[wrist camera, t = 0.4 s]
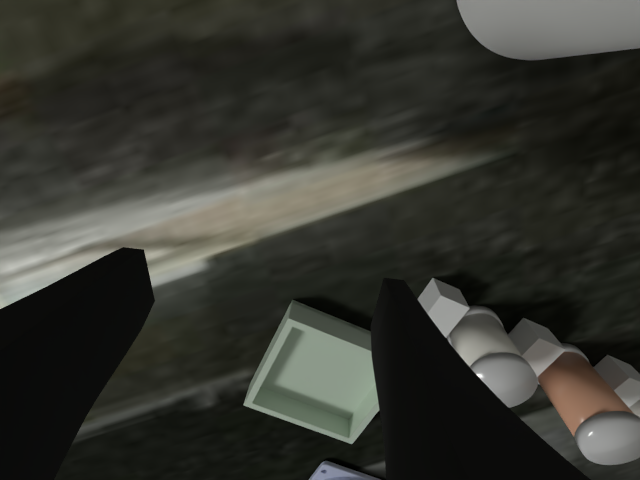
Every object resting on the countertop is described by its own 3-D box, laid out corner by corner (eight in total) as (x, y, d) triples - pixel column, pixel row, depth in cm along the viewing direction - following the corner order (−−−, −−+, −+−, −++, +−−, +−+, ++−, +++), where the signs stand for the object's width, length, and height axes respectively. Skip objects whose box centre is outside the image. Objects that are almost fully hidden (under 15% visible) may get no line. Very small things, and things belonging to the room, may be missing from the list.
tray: (351, 420, 28) (352, 444, 26) (250, 383, 27) (243, 405, 25) (407, 346, 24) (412, 367, 22) (292, 299, 23) (288, 318, 21)
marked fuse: (558, 387, 25) (618, 472, 19) (517, 370, 24) (567, 452, 19) (594, 354, 23) (670, 436, 18) (552, 336, 23) (616, 414, 18)
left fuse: (478, 353, 24) (509, 416, 20) (434, 335, 24) (456, 395, 19) (510, 317, 23) (552, 376, 18) (464, 297, 22) (496, 352, 18)
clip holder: (657, 433, 26) (680, 459, 24) (398, 326, 23) (402, 346, 22) (706, 398, 24) (735, 423, 23) (432, 277, 22) (441, 295, 20)
